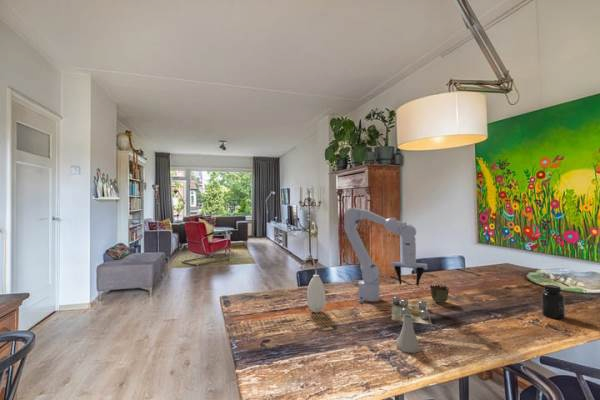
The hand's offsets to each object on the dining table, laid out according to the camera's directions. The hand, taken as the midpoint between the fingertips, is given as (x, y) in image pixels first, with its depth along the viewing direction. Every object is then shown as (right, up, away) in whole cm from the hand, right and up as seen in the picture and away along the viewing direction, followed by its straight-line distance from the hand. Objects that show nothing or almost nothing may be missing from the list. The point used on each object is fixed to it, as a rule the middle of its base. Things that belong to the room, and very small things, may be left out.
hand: (408, 284), depth 123 cm
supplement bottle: (+54, -10, -10) cm, 55 cm away
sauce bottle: (-40, -10, -5) cm, 42 cm away
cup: (+15, -10, +3) cm, 18 cm away
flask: (-13, -10, -34) cm, 37 cm away
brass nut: (-2, -9, -9) cm, 13 cm away
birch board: (-3, -10, -9) cm, 13 cm away
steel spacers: (-2, -9, -7) cm, 11 cm away
